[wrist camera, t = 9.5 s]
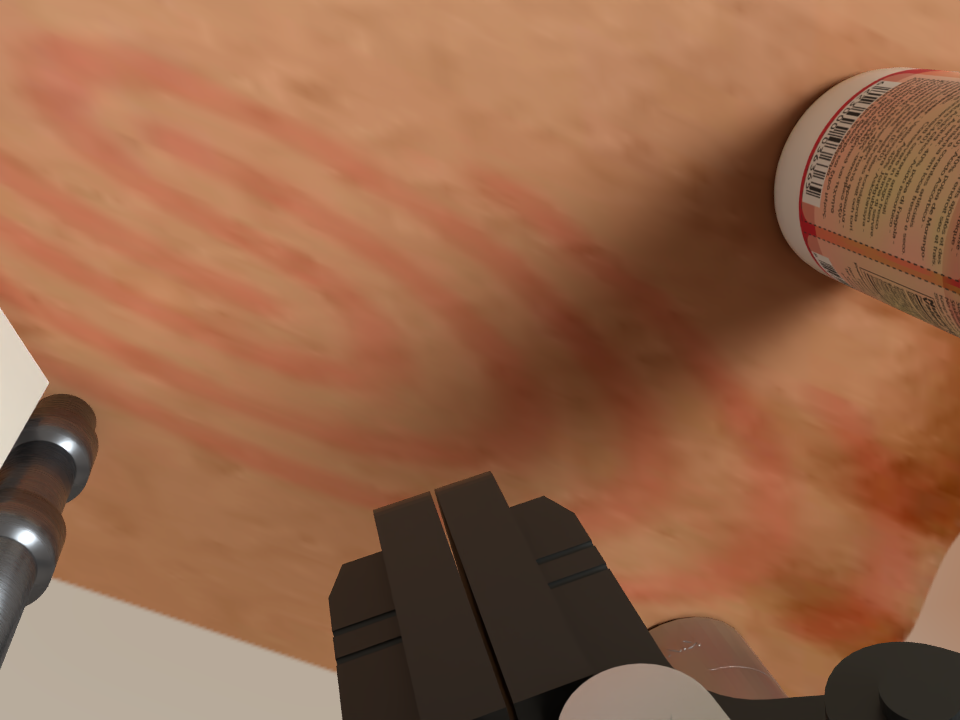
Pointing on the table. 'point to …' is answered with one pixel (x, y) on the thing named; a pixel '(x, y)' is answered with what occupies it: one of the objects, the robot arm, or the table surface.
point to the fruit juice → (880, 189)
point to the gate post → (40, 500)
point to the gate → (16, 386)
